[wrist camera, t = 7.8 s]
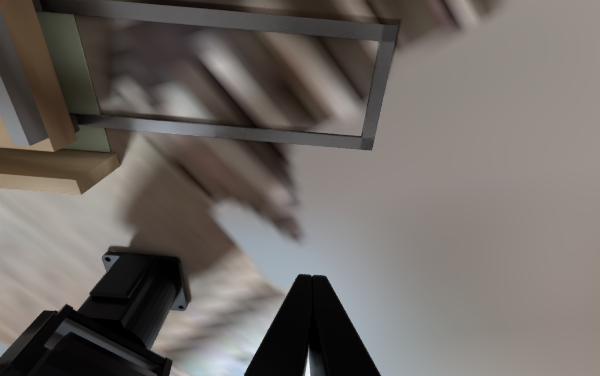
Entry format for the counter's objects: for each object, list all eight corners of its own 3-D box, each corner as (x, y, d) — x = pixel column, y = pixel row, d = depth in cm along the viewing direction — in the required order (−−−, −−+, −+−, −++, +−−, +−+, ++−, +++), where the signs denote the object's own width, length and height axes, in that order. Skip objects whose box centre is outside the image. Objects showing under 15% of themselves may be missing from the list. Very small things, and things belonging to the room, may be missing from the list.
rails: (371, 148, 19) (371, 150, 19) (-57, 112, 19) (-62, 114, 19) (397, 25, 16) (398, 25, 15) (-129, -21, 15) (-137, -21, 15)
